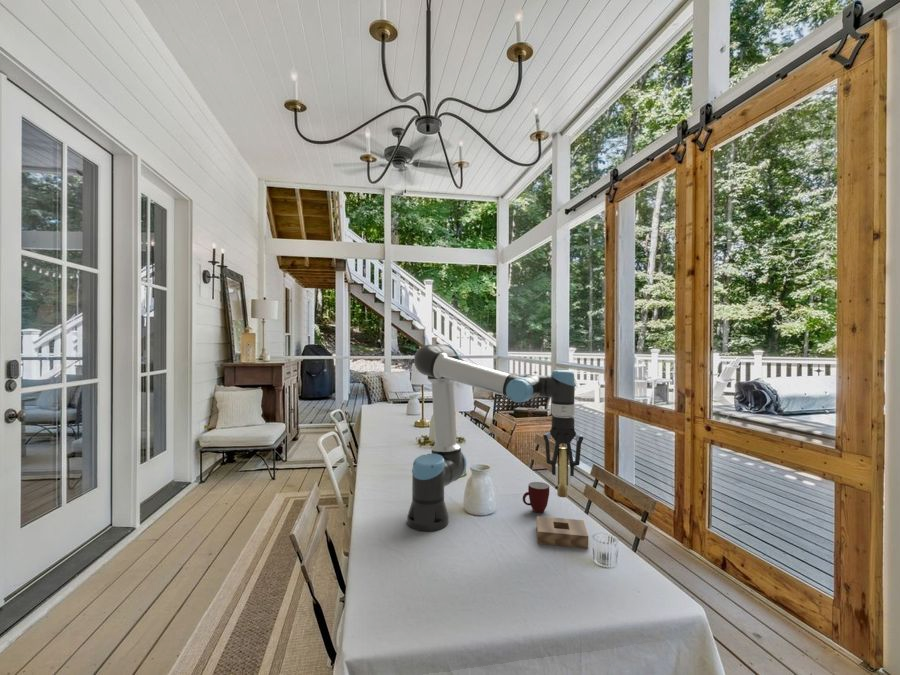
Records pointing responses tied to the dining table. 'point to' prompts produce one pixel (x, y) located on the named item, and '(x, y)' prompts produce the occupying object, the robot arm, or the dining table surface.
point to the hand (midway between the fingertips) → (562, 484)
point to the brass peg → (562, 472)
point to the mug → (537, 496)
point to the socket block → (562, 532)
